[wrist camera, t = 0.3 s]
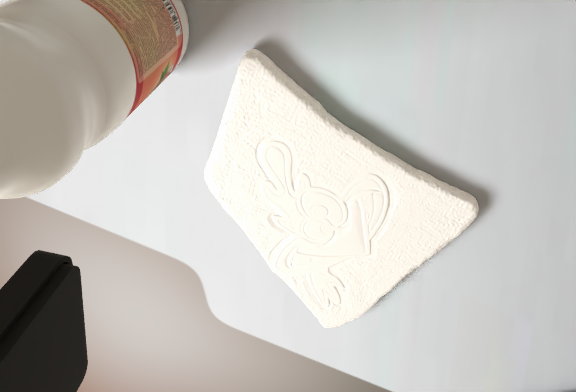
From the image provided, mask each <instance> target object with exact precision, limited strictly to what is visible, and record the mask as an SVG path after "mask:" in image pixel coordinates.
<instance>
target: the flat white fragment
mask: <svg viewBox="0 0 576 392" xmlns="http://www.w3.org/2000/svg"><path fill="white" fill-rule="evenodd" d="M204 176H205V180H206V183H207V185H208V187H209V189H210V191H211V192H212V193H213V194H214V196H215V197H216V198H217V199H218V201H219V202H220V204H221V205H222V207H223V208H224V209H225V210H226V211H227V212H228V214H230V215H231V217H233V219H234V220H235V221H236V223H238V225H239V226H240V227H241V228H242V229H243V231H244V232H245V233H246V235H247V236H248V238H249V239H250V240H251V241H252V242H253V244H254V245H255V246H256V248H257V249H258V251H259V252H260V253H261V254H262V256H263V257H264V259H265V260H266V262H267V264H268V265H269V267H270V268H271V270H272V271H273V272H274V273H275V274H277V275H278V276H280V277H281V278H282V279H283V280H284V281H285V282H286V283H287V284H288V285H289V287H290V288H292V289H293V291H294V292H295V293H296V294H297V295H298V296H299V297H300V298H301V299H302V301H303V302H304V303H305V304H306V305H307V307H308V308H309V309H310V310H311V311H312V313H313V314H314V316H315V317H317V318H318V319H319V322H320V323H321V324H322V326H324V327H325V328H327V327H328V328H335V327H338V326H341V325H343V324H346V323H348V322H349V321H352V320H355V319H357V318H359V317H361V316H362V315H363V314H364V313H365V312H367V311H368V310H369V309H370V308H371V307H372V306H373V305H374V304H375V303H377V302H378V301H379V299H380V297H382V296H383V295H385V294H387V293H388V292H389V291H390V290H392V289H393V288H394V287H395V286H396V285H397V284H398V283H399V282H400V281H401V280H402V279H403V278H404V277H405V276H406V275H407V274H409V273H411V272H412V271H414V269H415V268H417V267H419V266H420V265H421V264H422V263H424V262H425V261H426V260H428V259H429V258H430V257H432V256H433V255H434V254H436V253H437V252H438V251H439V250H441V249H442V248H443V247H444V246H446V245H447V244H448V243H449V242H451V241H452V240H453V239H455V238H456V237H458V236H459V235H460V234H461V233H462V232H463V231H464V230H465V229H466V228H468V226H469V225H470V224H471V223H472V222H473V221H474V220H475V218H476V217H477V214H478V211H479V206H478V203H477V200H476V199H475V197H473V196H472V195H470V194H469V193H467V192H465V191H463V190H460V189H458V188H457V187H454V186H450V185H449V184H447V183H445V182H442V181H440V180H438V179H436V178H434V177H433V176H431V175H430V174H427V173H425V172H423V171H421V170H418V169H416V168H414V167H412V166H411V165H409V164H408V163H405V162H404V161H402V160H401V159H399V158H397V157H396V156H395V155H393V154H391V153H389V152H386V151H385V150H383V149H382V148H380V147H378V146H376V145H375V144H373V143H372V142H370V141H369V140H368V139H366V138H365V137H363V136H361V135H360V134H358V133H357V132H355V131H354V130H352V129H350V128H348V127H347V126H345V125H344V124H342V123H341V122H339V121H338V120H337V119H336V118H335V117H333V116H332V115H330V114H329V113H328V112H327V111H326V110H325V109H324V108H323V107H322V105H321V104H320V103H319V101H317V100H316V99H314V98H313V97H312V96H310V95H309V94H308V93H307V92H306V91H305V90H304V89H302V88H301V87H300V86H299V85H298V84H296V83H295V81H294V80H292V79H291V78H290V77H289V76H287V75H286V74H285V73H284V72H283V71H282V70H281V69H280V68H279V67H278V66H276V65H275V64H274V63H273V61H272V60H270V59H269V58H268V57H267V56H266V55H264V54H263V53H262V52H260V51H259V50H257V49H252V50H250V51H247V52H246V53H245V55H244V56H243V58H242V60H241V63H240V64H239V68H238V72H237V73H236V77H235V81H234V83H233V86H232V89H231V93H230V96H229V99H228V103H227V106H226V108H225V111H224V114H223V117H222V121H221V124H220V128H219V130H218V135H217V138H216V140H215V144H214V146H213V150H212V153H211V155H210V157H209V159H208V161H207V164H206V167H205V173H204Z"/></svg>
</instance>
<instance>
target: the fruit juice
mask: <svg viewBox="0 0 576 392" xmlns="http://www.w3.org/2000/svg"><path fill="white" fill-rule="evenodd" d="M188 40H189V23H188V17H187V13H186V10H185V8H184V5H183V3H182V1H181V0H8V1H6V2H4V3H2V4H0V199H10V198H19V197H26V196H30V195H33V194H36V193H39V192H41V191H43V190H45V189H47V188H49V187H51V186H52V185H54V184H55V183H57V182H58V181H59V180H60V179H62V178H63V177H64V176H65V175H67V174H68V173H69V172H70V171H71V170H72V169H73V167H74V166H75V165H76V163H77V162H78V160H79V159H80V157H81V155H82V153H83V151H84V150H86V149H88V148H90V147H92V146H94V145H96V144H97V143H99V142H100V141H102V140H103V139H104V138H106V137H107V136H108V135H109V134H111V133H112V132H113V131H114V130H115V129H116V128H117V127H119V126H120V124H121V123H122V122H123V121H124V120H125V119H126V118H127V117H128V116H129V115H130V114H131V113H132V112H133V111H134V110H135V109H136V108H137V107H138V106H139V105H140V104H141V103H142V102H143V101H144V100H145V99H146V98H147V97H148V96H149V95H150V94H151V93H152V92H153V91H154V90H155V89H156V88H157V87H158V86H159V85H160V84H161V83H162V82H163V81H164V80H165V78H166V77H167V76H168V75H169V74H170V73H171V72H172V71H173V70H174V69H175V68H176V67H177V66H178V64H179V63H180V61H181V60H182V58H183V56H184V54H185V51H186V49H187V45H188Z"/></svg>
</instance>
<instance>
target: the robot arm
mask: <svg viewBox="0 0 576 392" xmlns="http://www.w3.org/2000/svg"><path fill="white" fill-rule="evenodd" d="M87 364H88V360H87V348H86V336H85V323H84V312H83V300H82V287H81V276H80V269H79V267H77V266H73V264H72V260H71V258H70V257H68V256H64V255H59V254H55V253H50V252H45V251H40V250H38V251H35V252H34V253H33V254H32V255H31V256H30V257H29V258H28V259H27V260H26V261H25V262H24V263H23V265H22V266H21V267H20V268H19V269H18V270H17V271H16V272H15V274H14V275H13V276H12V277H11V278H10V279H9V281H7V283H6V284H5V285H4V286H3V287H2V288H1V289H0V392H77V390H78V388H79V386H80V384H81V383H82V381H83V379H84V376H85V373H86V370H87Z"/></svg>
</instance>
